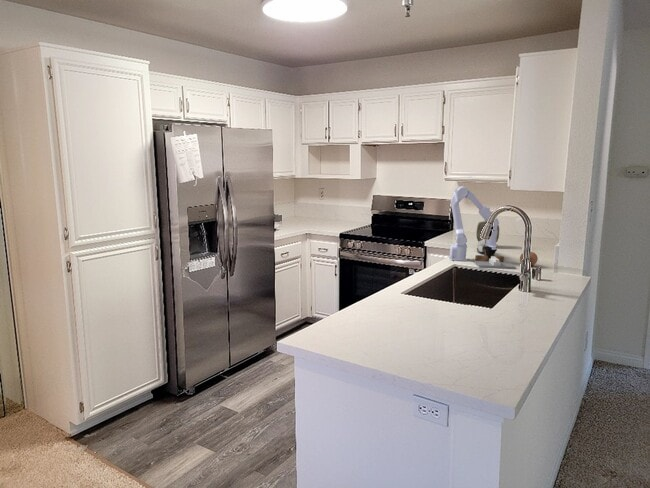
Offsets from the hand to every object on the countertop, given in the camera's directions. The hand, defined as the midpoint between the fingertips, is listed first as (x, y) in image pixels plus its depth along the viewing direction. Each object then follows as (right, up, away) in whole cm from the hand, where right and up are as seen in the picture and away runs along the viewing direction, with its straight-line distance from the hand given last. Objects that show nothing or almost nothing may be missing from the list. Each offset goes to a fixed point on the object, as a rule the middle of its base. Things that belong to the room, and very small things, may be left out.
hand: (489, 259), depth 282 cm
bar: (0, -2, 0) cm, 2 cm away
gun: (+3, +1, +19) cm, 19 cm away
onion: (+19, -4, -9) cm, 21 cm away
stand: (-1, -3, -11) cm, 12 cm away
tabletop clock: (+15, +7, +50) cm, 53 cm away
